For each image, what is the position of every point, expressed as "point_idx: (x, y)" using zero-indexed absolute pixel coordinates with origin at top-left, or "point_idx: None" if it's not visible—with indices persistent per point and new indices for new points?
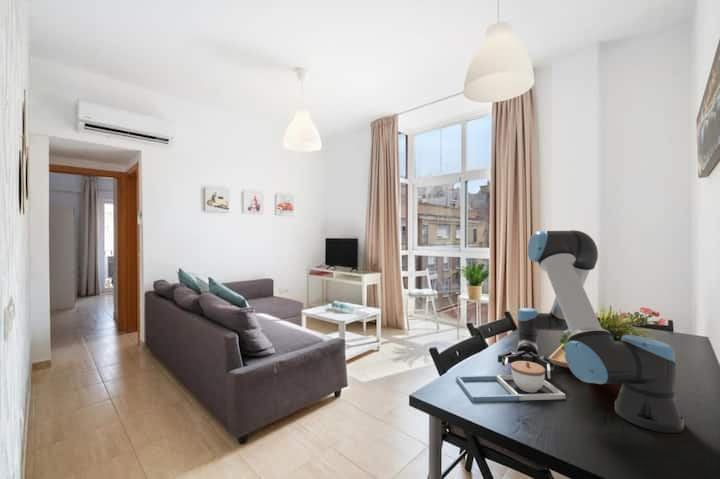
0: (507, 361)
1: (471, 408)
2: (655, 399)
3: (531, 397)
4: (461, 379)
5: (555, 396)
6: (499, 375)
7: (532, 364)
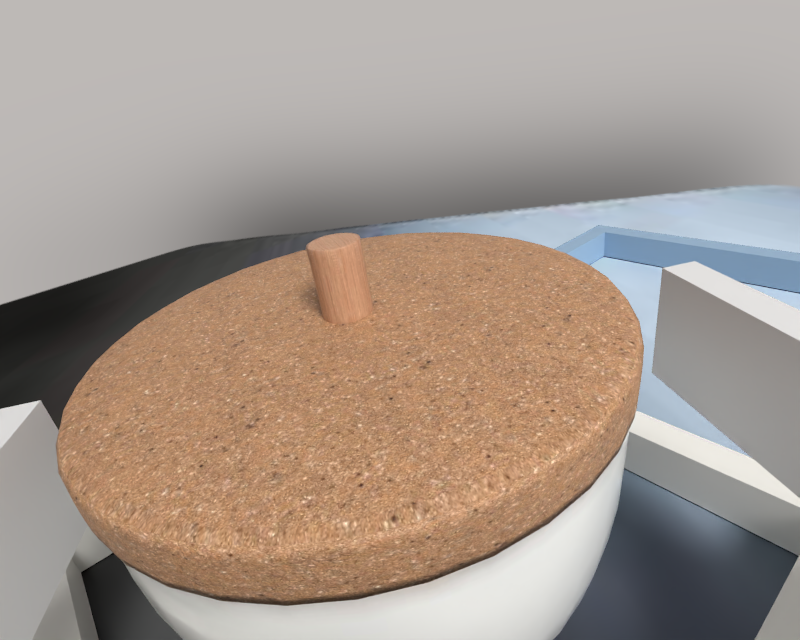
0: (796, 355)
1: (561, 231)
2: None
3: None
4: None
5: None
6: None
7: (266, 395)
